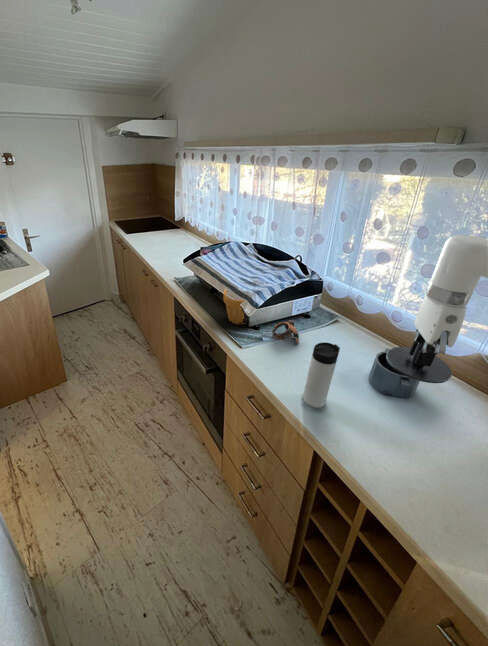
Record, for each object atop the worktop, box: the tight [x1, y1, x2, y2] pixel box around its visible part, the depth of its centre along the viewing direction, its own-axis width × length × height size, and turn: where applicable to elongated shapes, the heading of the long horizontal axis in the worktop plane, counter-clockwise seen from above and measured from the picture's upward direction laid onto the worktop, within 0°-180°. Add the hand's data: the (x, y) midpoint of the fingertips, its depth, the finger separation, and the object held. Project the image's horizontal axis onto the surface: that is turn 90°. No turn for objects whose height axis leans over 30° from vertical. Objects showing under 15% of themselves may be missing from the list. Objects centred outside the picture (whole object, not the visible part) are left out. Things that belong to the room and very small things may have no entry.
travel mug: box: [302, 342, 341, 410], centre depth 87 cm, size 6×7×20 cm
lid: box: [386, 341, 453, 384], centre depth 75 cm, size 13×13×7 cm
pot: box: [368, 347, 421, 400], centre depth 95 cm, size 12×18×8 cm
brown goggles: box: [271, 319, 300, 345], centre depth 119 cm, size 12×10×8 cm
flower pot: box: [223, 288, 246, 325], centre depth 131 cm, size 14×14×13 cm
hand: (419, 359), depth 75 cm, fingers closed on lid, 3 cm apart
